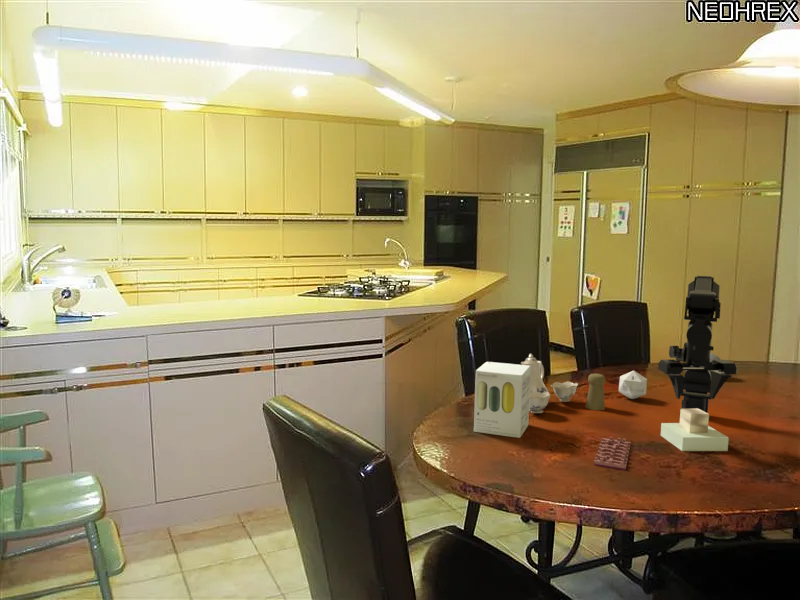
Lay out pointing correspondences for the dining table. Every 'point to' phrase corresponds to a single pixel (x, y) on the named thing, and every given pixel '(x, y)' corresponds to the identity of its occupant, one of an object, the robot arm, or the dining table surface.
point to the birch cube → (694, 420)
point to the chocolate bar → (613, 453)
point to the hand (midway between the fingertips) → (695, 398)
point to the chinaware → (540, 392)
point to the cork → (596, 392)
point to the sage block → (694, 438)
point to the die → (632, 385)
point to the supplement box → (502, 399)
